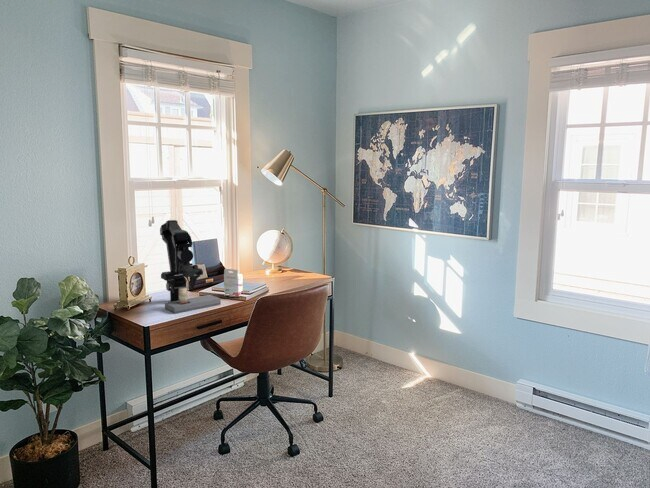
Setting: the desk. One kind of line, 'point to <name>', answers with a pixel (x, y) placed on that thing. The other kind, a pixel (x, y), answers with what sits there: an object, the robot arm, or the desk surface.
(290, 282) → the desk surface
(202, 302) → the board
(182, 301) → the beech peg
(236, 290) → the ink cartridge box
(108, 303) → the desk surface
